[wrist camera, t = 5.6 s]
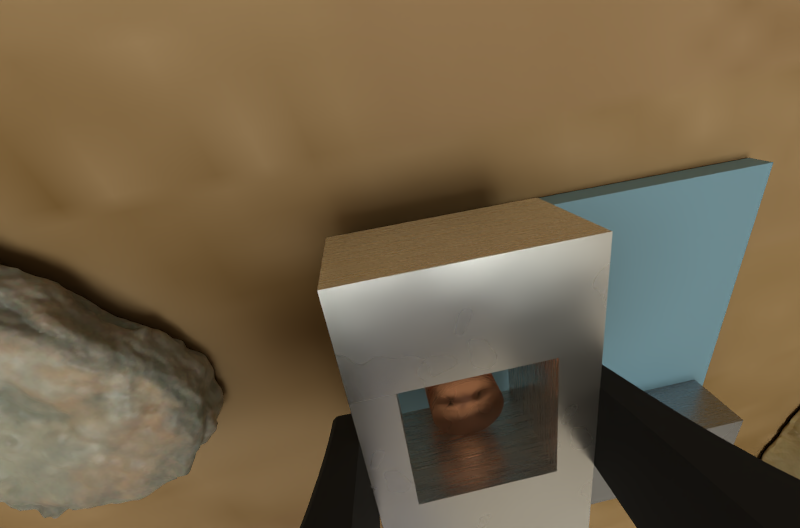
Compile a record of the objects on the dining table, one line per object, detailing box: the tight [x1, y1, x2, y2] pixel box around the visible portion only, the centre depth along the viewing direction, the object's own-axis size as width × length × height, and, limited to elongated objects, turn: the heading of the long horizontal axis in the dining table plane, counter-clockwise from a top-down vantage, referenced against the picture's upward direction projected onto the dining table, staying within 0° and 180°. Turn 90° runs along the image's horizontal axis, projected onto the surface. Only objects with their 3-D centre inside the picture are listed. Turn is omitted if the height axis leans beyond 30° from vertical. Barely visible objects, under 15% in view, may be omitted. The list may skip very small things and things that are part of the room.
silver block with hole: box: [317, 198, 613, 528], centre depth 10 cm, size 6×9×3 cm, turn 8°
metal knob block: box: [591, 380, 743, 504], centre depth 15 cm, size 3×8×5 cm, turn 99°
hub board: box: [398, 158, 773, 414], centre depth 15 cm, size 16×14×1 cm
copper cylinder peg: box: [425, 373, 504, 435], centre depth 11 cm, size 2×2×3 cm
